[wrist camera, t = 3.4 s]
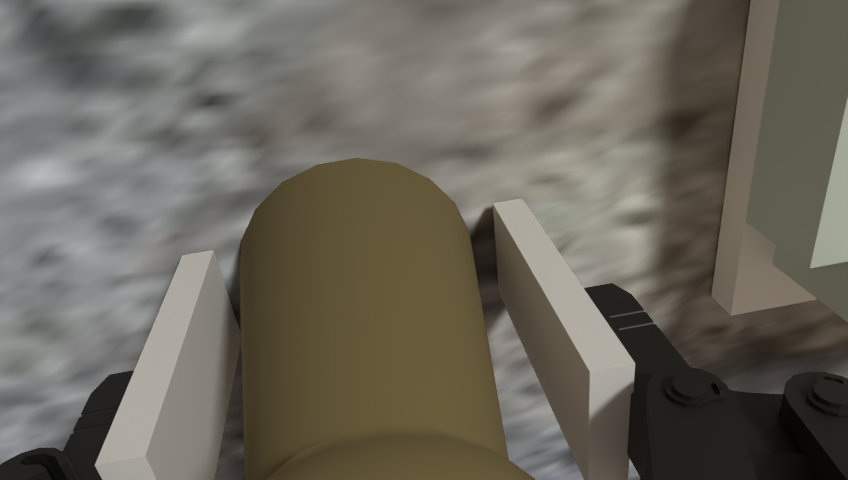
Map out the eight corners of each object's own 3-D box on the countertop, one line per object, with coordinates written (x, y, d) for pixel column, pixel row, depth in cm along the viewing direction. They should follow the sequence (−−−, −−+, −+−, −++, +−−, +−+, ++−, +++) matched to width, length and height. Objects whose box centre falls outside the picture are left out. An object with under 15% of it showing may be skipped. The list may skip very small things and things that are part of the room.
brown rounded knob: (513, 282, 17) (763, 765, 7) (338, 394, 18) (356, 953, 8) (384, 107, 14) (516, 520, 5) (186, 252, 15) (-54, 843, 6)
